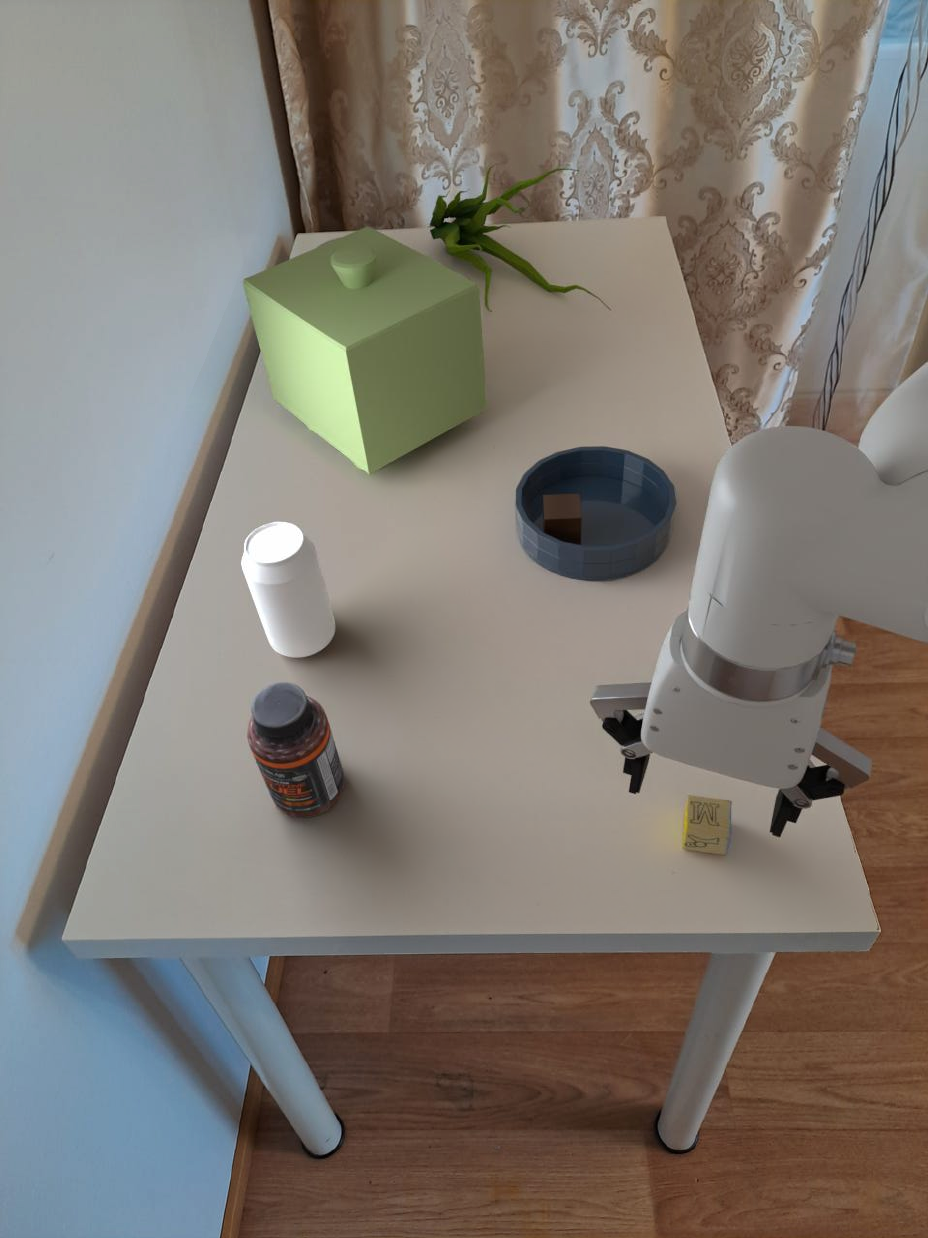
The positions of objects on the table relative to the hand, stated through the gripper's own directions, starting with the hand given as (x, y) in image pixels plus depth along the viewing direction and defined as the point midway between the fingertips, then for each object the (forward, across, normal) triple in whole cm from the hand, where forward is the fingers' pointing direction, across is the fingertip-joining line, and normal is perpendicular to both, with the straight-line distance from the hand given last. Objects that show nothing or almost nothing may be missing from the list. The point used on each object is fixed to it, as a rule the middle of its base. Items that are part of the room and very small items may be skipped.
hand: (706, 797), depth 63 cm
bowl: (+6, +16, -30) cm, 35 cm away
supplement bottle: (+6, +29, +6) cm, 31 cm away
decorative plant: (+6, +40, -75) cm, 85 cm away
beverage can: (+6, +37, -8) cm, 39 cm away
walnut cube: (+5, +19, -28) cm, 34 cm away
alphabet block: (+6, -1, 0) cm, 6 cm away
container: (+6, +44, -40) cm, 60 cm away
